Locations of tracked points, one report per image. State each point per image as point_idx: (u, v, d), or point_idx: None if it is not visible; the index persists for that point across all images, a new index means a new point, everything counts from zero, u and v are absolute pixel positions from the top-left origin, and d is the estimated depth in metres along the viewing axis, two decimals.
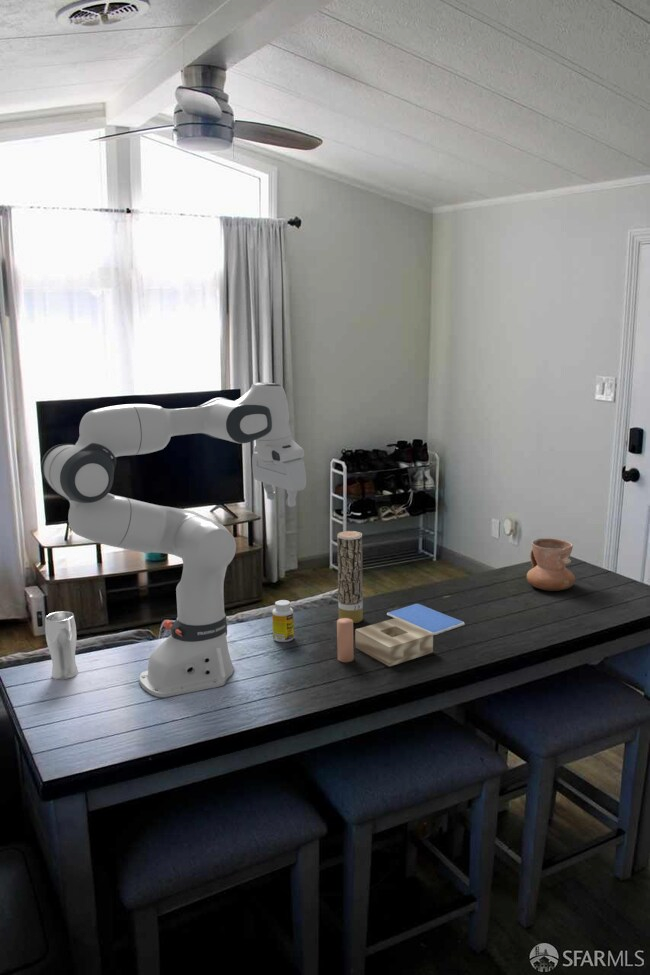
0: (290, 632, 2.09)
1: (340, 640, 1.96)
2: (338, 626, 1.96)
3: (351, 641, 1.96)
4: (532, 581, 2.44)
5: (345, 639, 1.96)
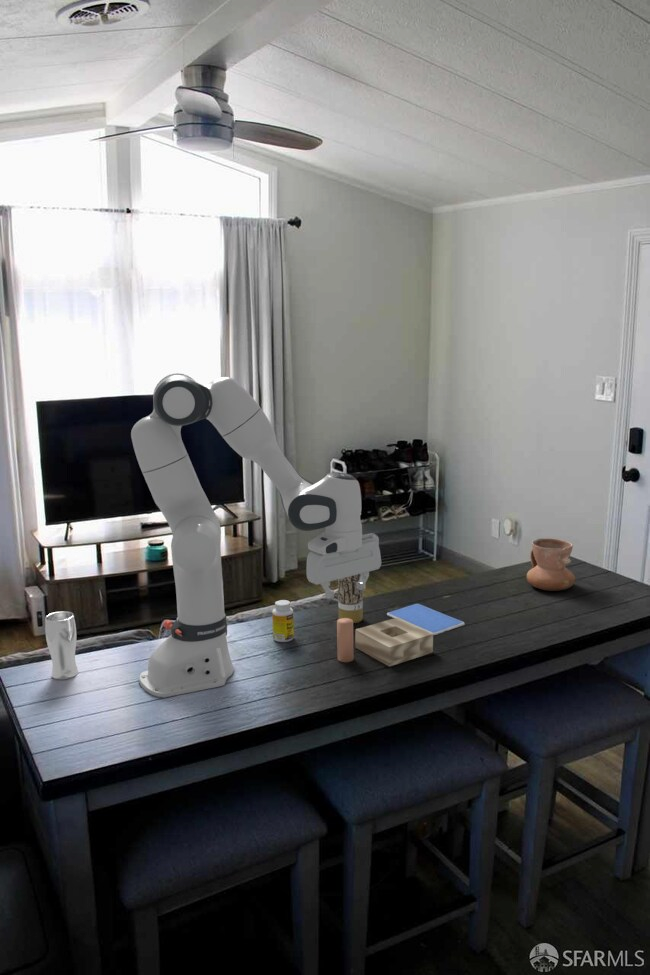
0: (290, 632, 2.09)
1: (340, 639, 1.96)
2: (338, 626, 1.96)
3: (351, 641, 1.96)
4: (532, 581, 2.44)
5: (345, 639, 1.96)
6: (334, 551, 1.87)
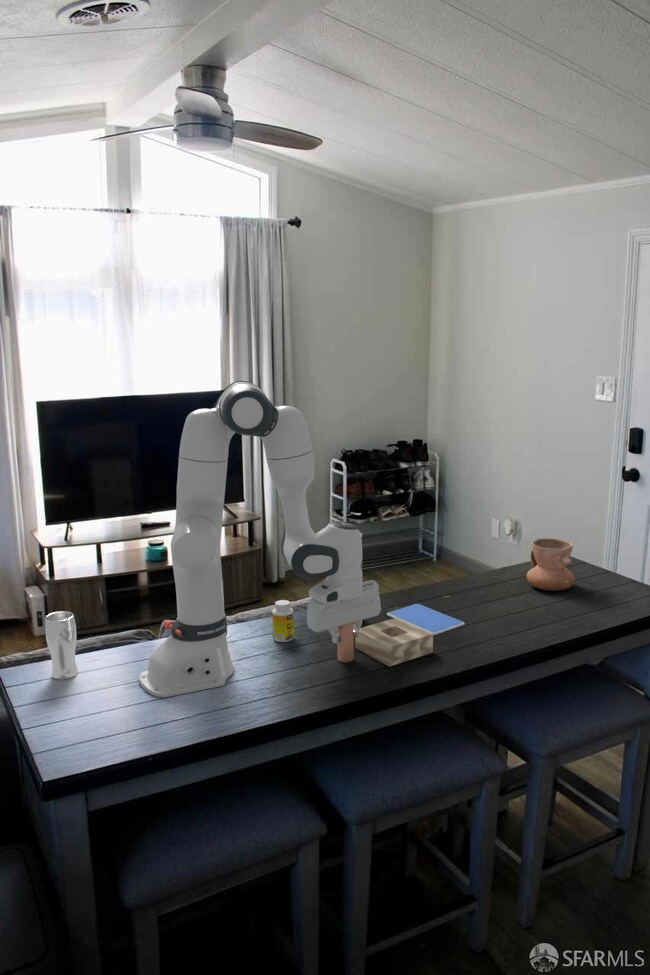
0: (290, 632, 2.09)
1: (340, 639, 1.96)
2: None
3: (351, 641, 1.96)
4: (532, 581, 2.44)
5: (345, 639, 1.96)
6: (335, 600, 1.90)
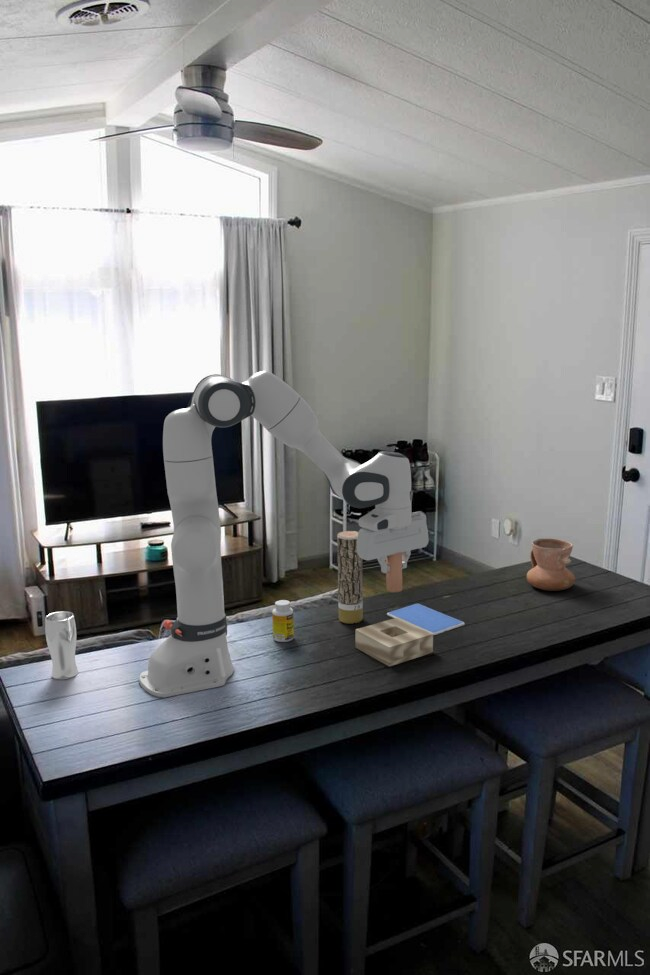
0: (290, 632, 2.09)
1: (390, 569, 1.97)
2: (387, 556, 1.97)
3: (400, 571, 1.98)
4: (532, 581, 2.44)
5: (394, 569, 1.97)
6: (385, 527, 1.91)
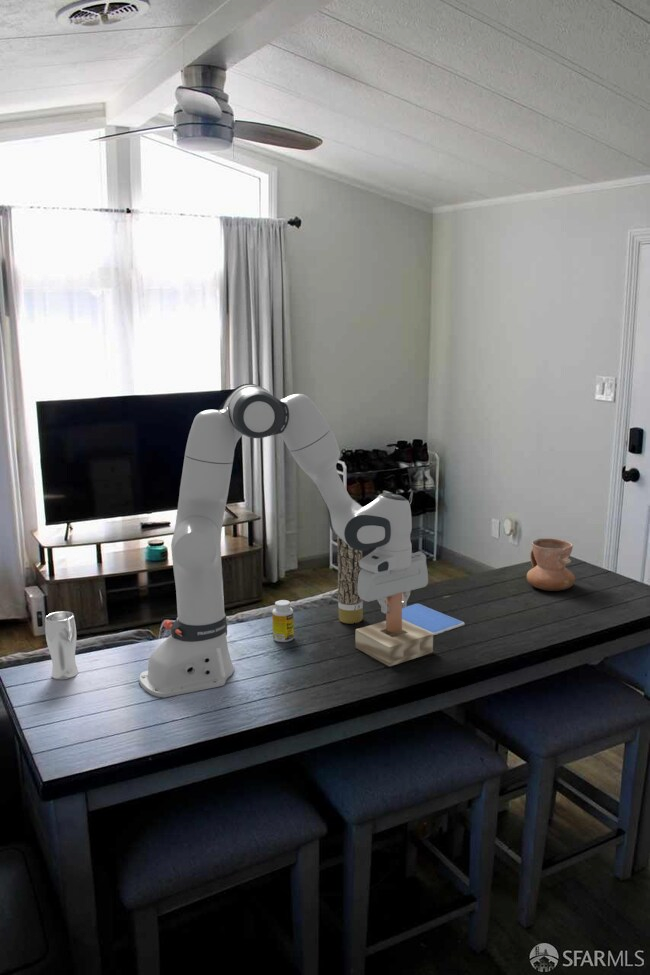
0: (290, 632, 2.09)
1: None
2: None
3: (400, 611, 2.00)
4: (532, 581, 2.44)
5: (394, 609, 1.99)
6: (385, 569, 1.93)
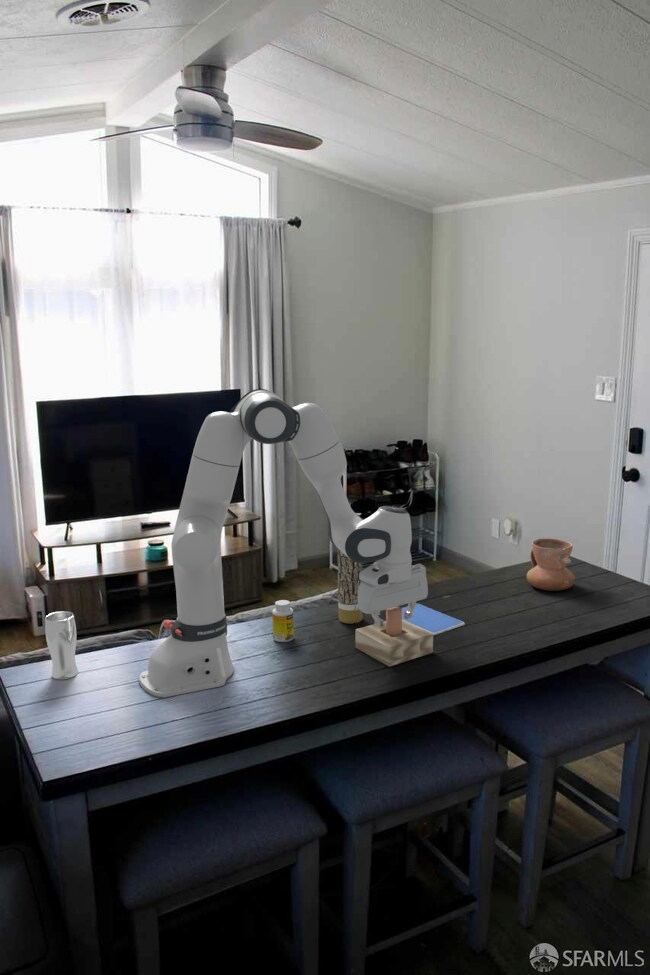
0: (290, 632, 2.09)
1: (389, 627, 2.00)
2: (387, 614, 2.00)
3: (400, 628, 2.01)
4: (532, 581, 2.44)
5: (394, 627, 2.00)
6: (385, 582, 1.94)
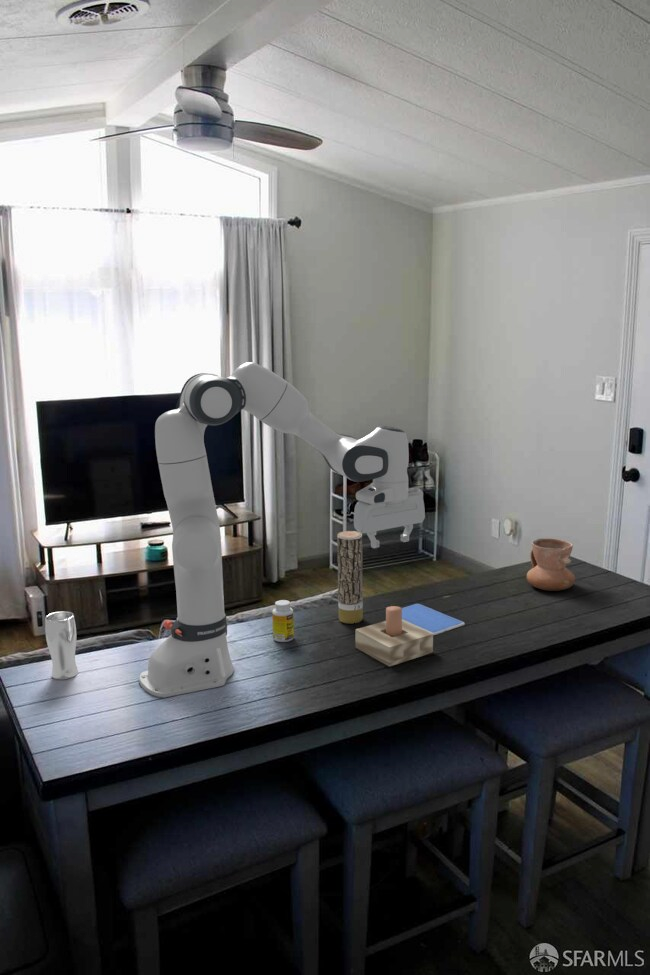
0: (290, 632, 2.09)
1: (389, 627, 2.00)
2: (387, 614, 2.00)
3: (400, 628, 2.01)
4: (532, 581, 2.44)
5: (394, 627, 2.00)
6: (382, 501, 1.93)
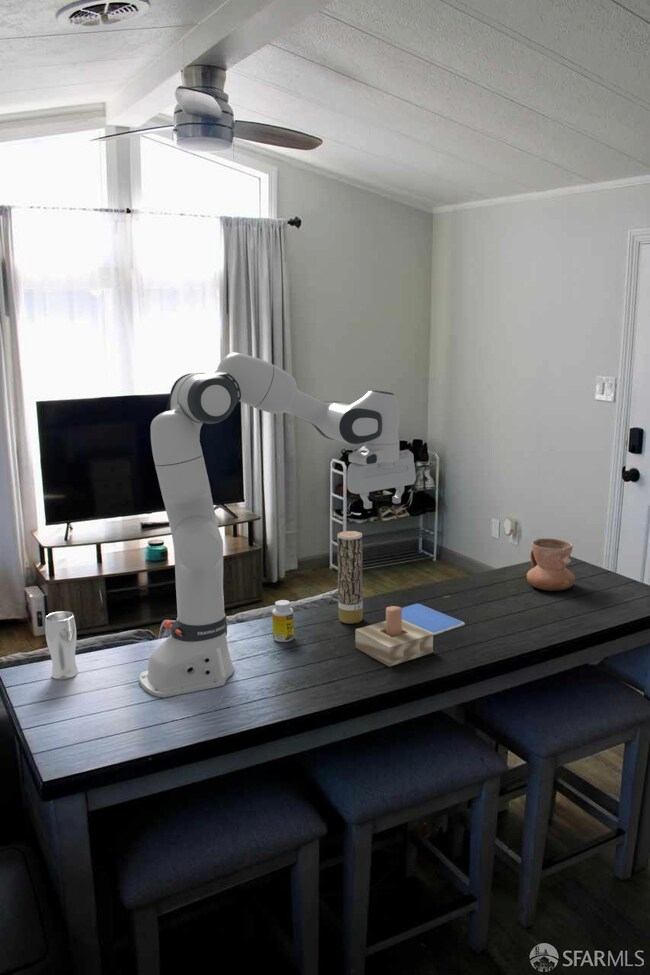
0: (290, 632, 2.09)
1: (389, 627, 2.00)
2: (387, 614, 2.00)
3: (400, 628, 2.01)
4: (532, 581, 2.44)
5: (394, 627, 2.00)
6: (374, 462, 1.99)
